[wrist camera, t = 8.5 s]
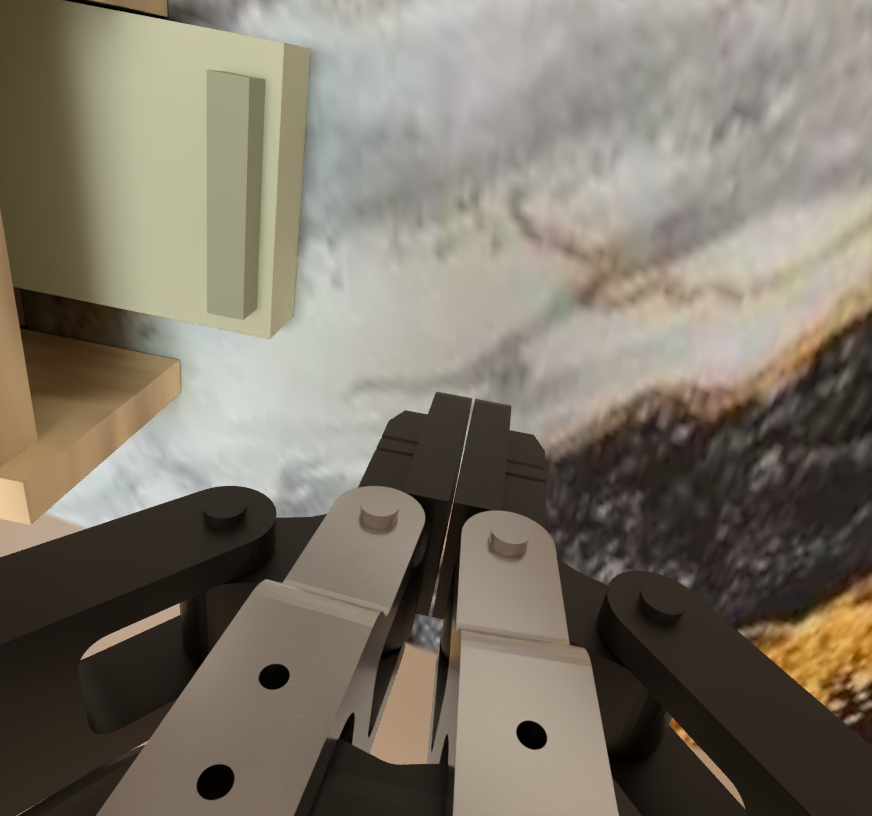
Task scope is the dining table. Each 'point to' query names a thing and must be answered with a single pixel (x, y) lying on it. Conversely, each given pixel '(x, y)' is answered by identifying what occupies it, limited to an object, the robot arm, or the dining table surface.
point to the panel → (151, 163)
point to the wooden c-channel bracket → (67, 392)
